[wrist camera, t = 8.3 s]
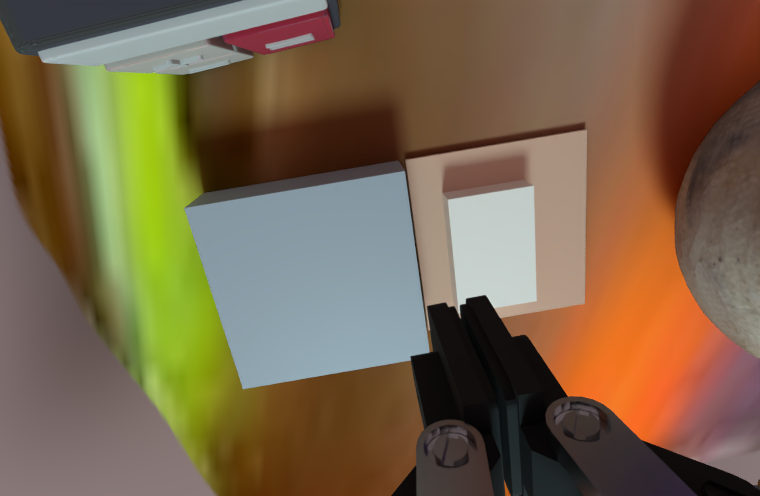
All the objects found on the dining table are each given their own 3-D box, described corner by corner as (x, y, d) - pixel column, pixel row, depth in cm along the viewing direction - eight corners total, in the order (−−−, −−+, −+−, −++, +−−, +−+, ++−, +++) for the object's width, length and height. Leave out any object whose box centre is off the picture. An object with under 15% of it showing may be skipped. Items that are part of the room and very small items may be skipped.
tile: (533, 185, 30) (523, 179, 32) (447, 199, 30) (442, 192, 32) (536, 301, 34) (526, 289, 36) (458, 314, 34) (452, 301, 35)
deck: (203, 193, 32) (184, 208, 28) (398, 160, 32) (404, 170, 28) (254, 357, 36) (243, 389, 33) (421, 328, 37) (430, 356, 33)
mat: (405, 159, 32) (405, 160, 31) (584, 129, 32) (587, 129, 31) (427, 327, 37) (428, 330, 36) (582, 301, 37) (584, 303, 36)
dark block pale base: (180, 80, 29) (21, 79, 15) (153, 7, 27) (-51, -71, 13) (344, 40, 29) (340, 0, 15) (326, -36, 27) (304, -161, 13)
